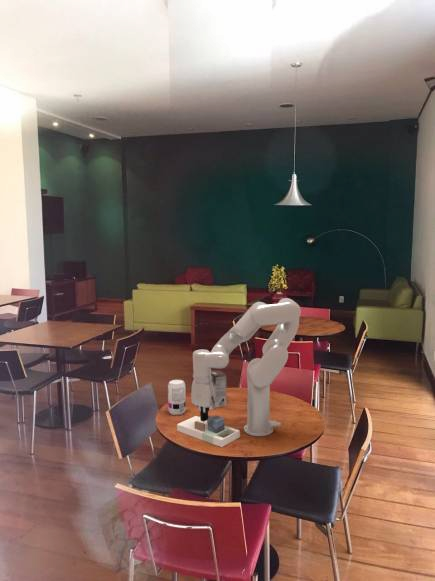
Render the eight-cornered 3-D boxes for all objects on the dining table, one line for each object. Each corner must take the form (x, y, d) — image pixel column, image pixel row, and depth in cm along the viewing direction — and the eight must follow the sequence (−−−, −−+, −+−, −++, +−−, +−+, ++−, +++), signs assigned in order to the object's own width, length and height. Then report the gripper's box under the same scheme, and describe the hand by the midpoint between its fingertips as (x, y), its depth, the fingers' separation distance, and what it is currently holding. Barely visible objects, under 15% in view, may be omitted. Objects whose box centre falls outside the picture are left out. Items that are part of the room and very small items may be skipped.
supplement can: (165, 413, 223) (164, 383, 221) (174, 407, 230) (174, 378, 228) (179, 416, 219) (179, 385, 217) (188, 410, 226) (188, 380, 224)
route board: (239, 437, 197) (239, 423, 196) (221, 447, 187) (221, 433, 187) (195, 422, 212) (195, 409, 212) (177, 430, 203) (176, 417, 203)
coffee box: (207, 401, 238) (207, 371, 236) (219, 399, 241) (218, 369, 239) (215, 407, 230) (214, 375, 228) (226, 405, 232) (226, 374, 230)
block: (224, 429, 197) (224, 418, 196) (216, 433, 193) (216, 421, 193) (215, 426, 200) (215, 415, 200) (207, 430, 197) (207, 418, 196)
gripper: (183, 378, 201) (185, 419, 203) (210, 384, 191) (212, 427, 194) (195, 373, 207) (197, 413, 209) (221, 379, 197) (223, 421, 199)
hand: (204, 420), depth 201 cm, fingers closed
